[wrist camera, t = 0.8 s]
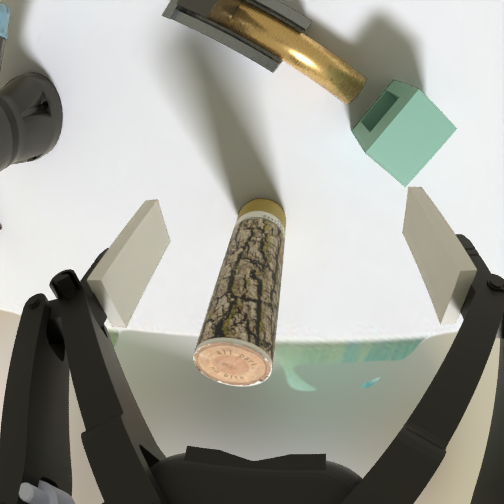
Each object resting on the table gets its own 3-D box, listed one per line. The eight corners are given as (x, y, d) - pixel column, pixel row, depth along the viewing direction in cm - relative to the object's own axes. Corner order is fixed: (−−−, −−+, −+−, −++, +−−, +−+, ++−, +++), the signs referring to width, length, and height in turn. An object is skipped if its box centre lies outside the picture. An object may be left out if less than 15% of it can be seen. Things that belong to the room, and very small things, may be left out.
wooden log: (256, 187, 43) (217, 330, 23) (295, 214, 45) (288, 366, 25) (230, 221, 47) (180, 364, 27) (267, 245, 49) (243, 393, 29)
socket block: (351, 131, 37) (365, 153, 30) (393, 79, 32) (418, 89, 25) (385, 159, 38) (404, 187, 31) (427, 110, 33) (456, 128, 26)
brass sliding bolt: (199, 14, 29) (158, 2, 19) (217, -12, 27) (183, -35, 17) (342, 101, 34) (362, 123, 24) (362, 76, 31) (390, 89, 22)
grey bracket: (179, 18, 30) (161, 15, 26) (209, -28, 26) (196, -38, 22) (275, 70, 34) (272, 73, 29) (310, 24, 29) (312, 19, 25)
